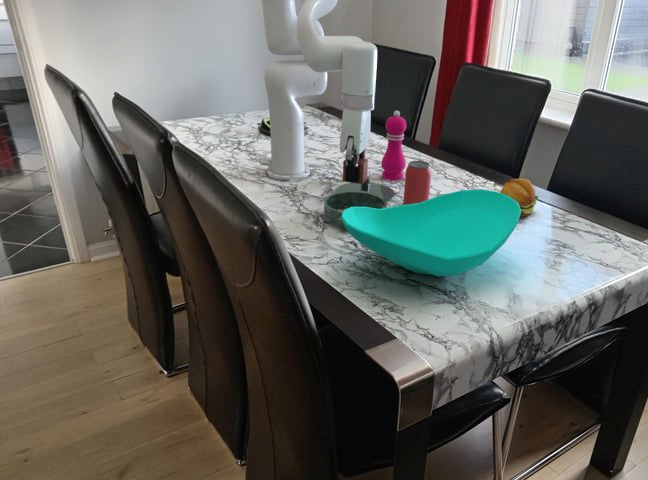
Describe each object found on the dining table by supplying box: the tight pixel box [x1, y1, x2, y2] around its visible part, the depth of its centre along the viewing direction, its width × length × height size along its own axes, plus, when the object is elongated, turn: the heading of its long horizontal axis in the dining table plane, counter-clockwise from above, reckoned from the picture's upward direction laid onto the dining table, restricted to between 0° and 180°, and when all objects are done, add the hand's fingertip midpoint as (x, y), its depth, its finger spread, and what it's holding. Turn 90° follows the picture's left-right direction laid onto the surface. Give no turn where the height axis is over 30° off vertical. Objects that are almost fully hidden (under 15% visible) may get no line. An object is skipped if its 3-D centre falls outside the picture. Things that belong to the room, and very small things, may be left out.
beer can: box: [402, 160, 432, 205], centre depth 150 cm, size 7×7×12 cm
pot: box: [323, 191, 388, 230], centre depth 143 cm, size 15×21×4 cm
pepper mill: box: [380, 110, 407, 181], centre depth 168 cm, size 7×7×20 cm
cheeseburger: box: [500, 178, 539, 217], centre depth 152 cm, size 10×11×10 cm
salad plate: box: [256, 117, 310, 138], centre depth 213 cm, size 19×18×5 cm
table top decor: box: [341, 188, 521, 277], centre depth 120 cm, size 40×28×13 cm
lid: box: [334, 176, 396, 203], centre depth 158 cm, size 16×16×5 cm
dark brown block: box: [342, 157, 369, 184], centre depth 138 cm, size 5×4×5 cm
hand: (355, 177), depth 139 cm, fingers closed on dark brown block, 4 cm apart
